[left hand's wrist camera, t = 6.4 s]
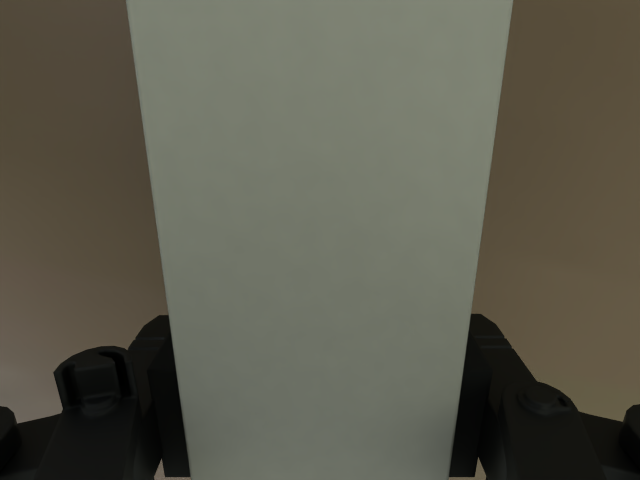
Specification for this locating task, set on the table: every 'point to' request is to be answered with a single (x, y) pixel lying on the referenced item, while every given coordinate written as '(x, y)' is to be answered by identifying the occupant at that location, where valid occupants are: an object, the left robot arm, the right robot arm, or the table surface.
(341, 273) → the beam
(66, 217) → the table surface
